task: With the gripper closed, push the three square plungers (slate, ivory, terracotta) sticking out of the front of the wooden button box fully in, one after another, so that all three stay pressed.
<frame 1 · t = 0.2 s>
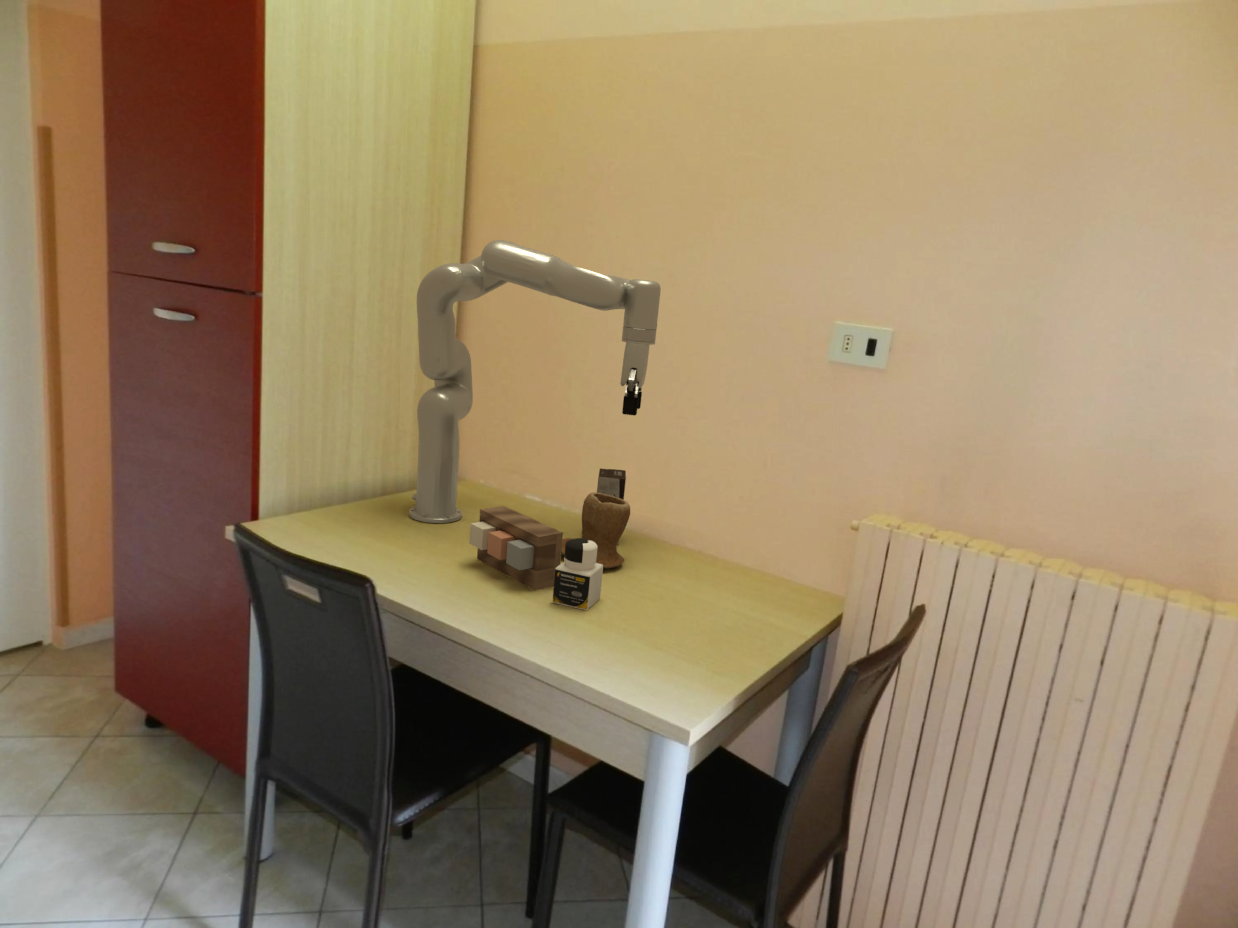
hand: (631, 411, 194), 31 cm above the table, tool pointing down, fingers open, 9 cm apart
terracotta key: (502, 544, 170), point 7 cm above the table, slide at 0.0 cm
wooden button box: (516, 571, 174), on the table
ivory key: (484, 535, 175), point 7 cm above the table, slide at 0.0 cm
medicine bottle: (576, 601, 163), on the table
stone cup: (592, 561, 186), on the table
slate key: (521, 554, 166), point 7 cm above the table, slide at 0.0 cm
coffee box: (606, 539, 202), on the table
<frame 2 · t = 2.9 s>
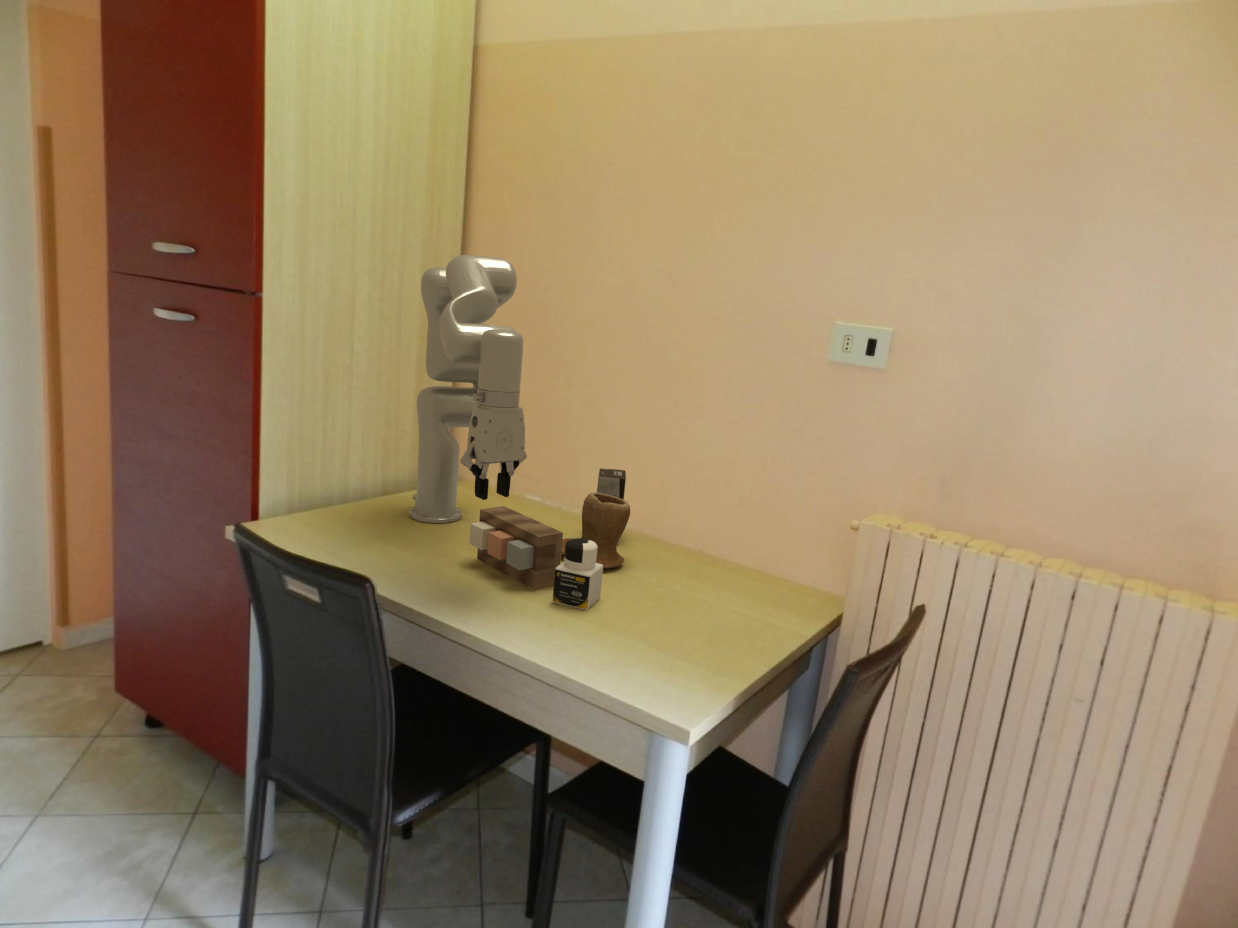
hand: (492, 495, 157), 19 cm above the table, tool pointing down, fingers open, 4 cm apart
nothing on the table moved.
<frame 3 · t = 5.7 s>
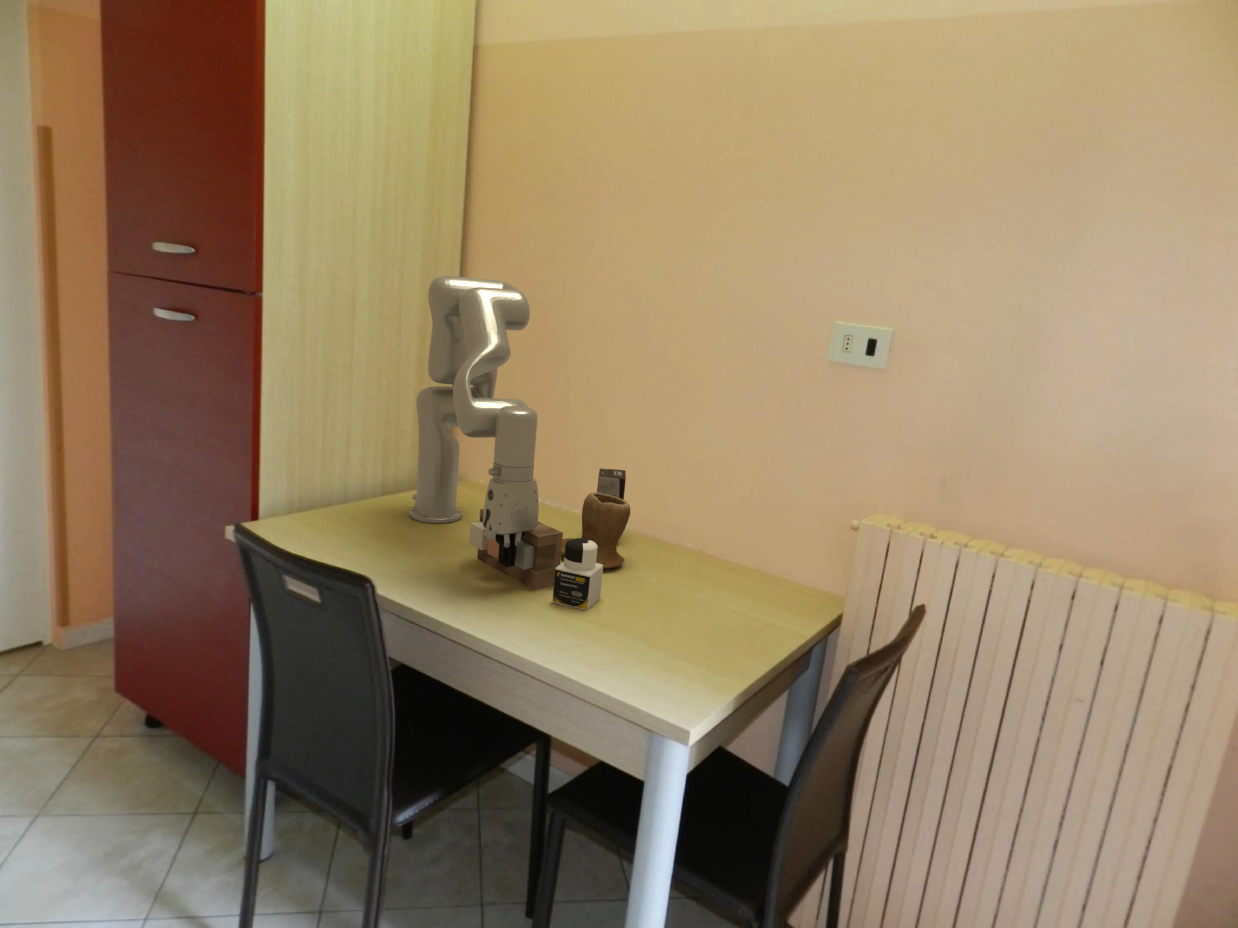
hand: (506, 564, 164), 5 cm above the table, tool pointing down, fingers closed
slate key: (525, 553, 166), point 7 cm above the table, slide at 1.0 cm, touching gripper
everything else where it was.
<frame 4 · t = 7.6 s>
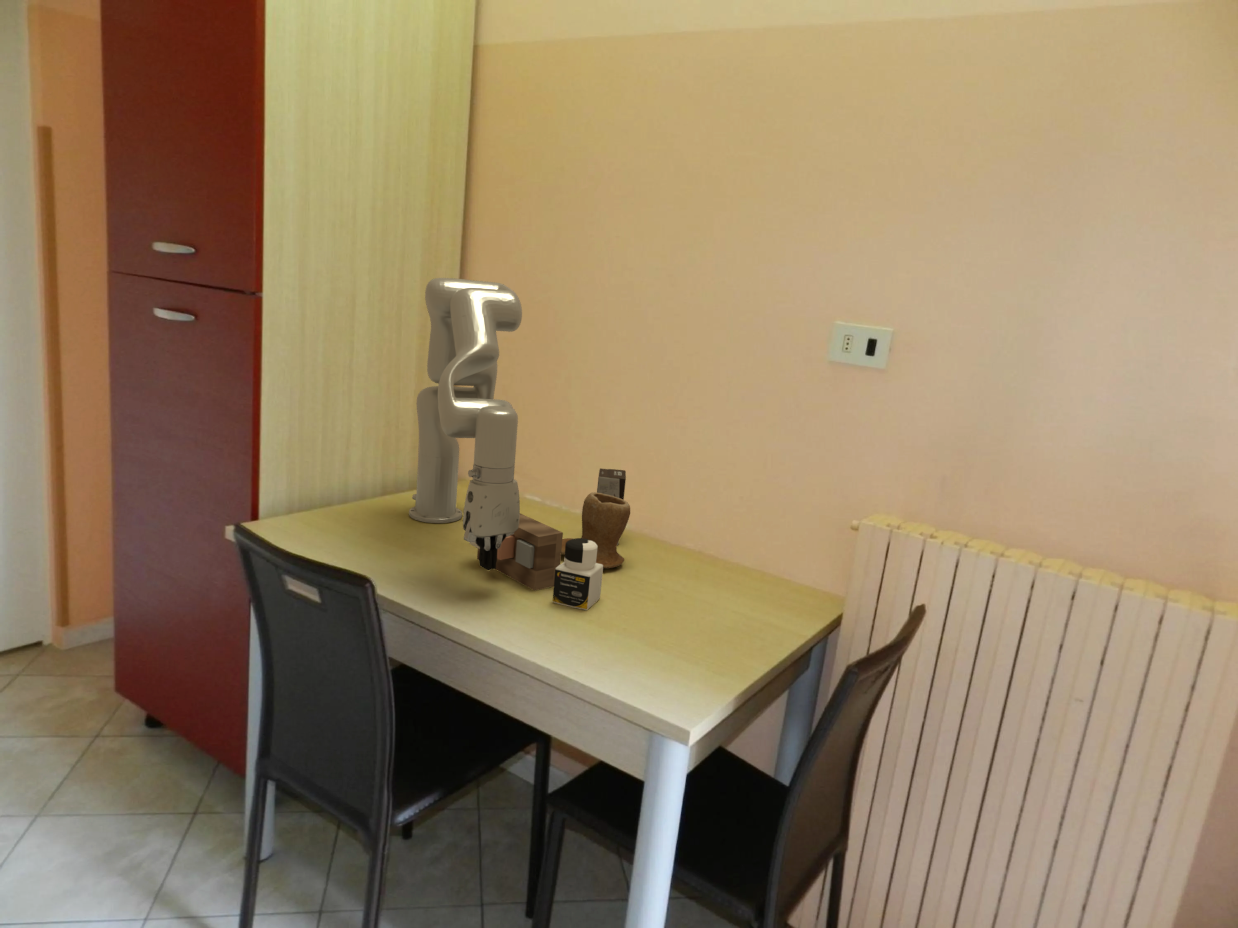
hand: (487, 567, 161), 5 cm above the table, tool pointing down, fingers closed
slate key: (531, 552, 167), point 7 cm above the table, slide at 2.3 cm
everything else where it was.
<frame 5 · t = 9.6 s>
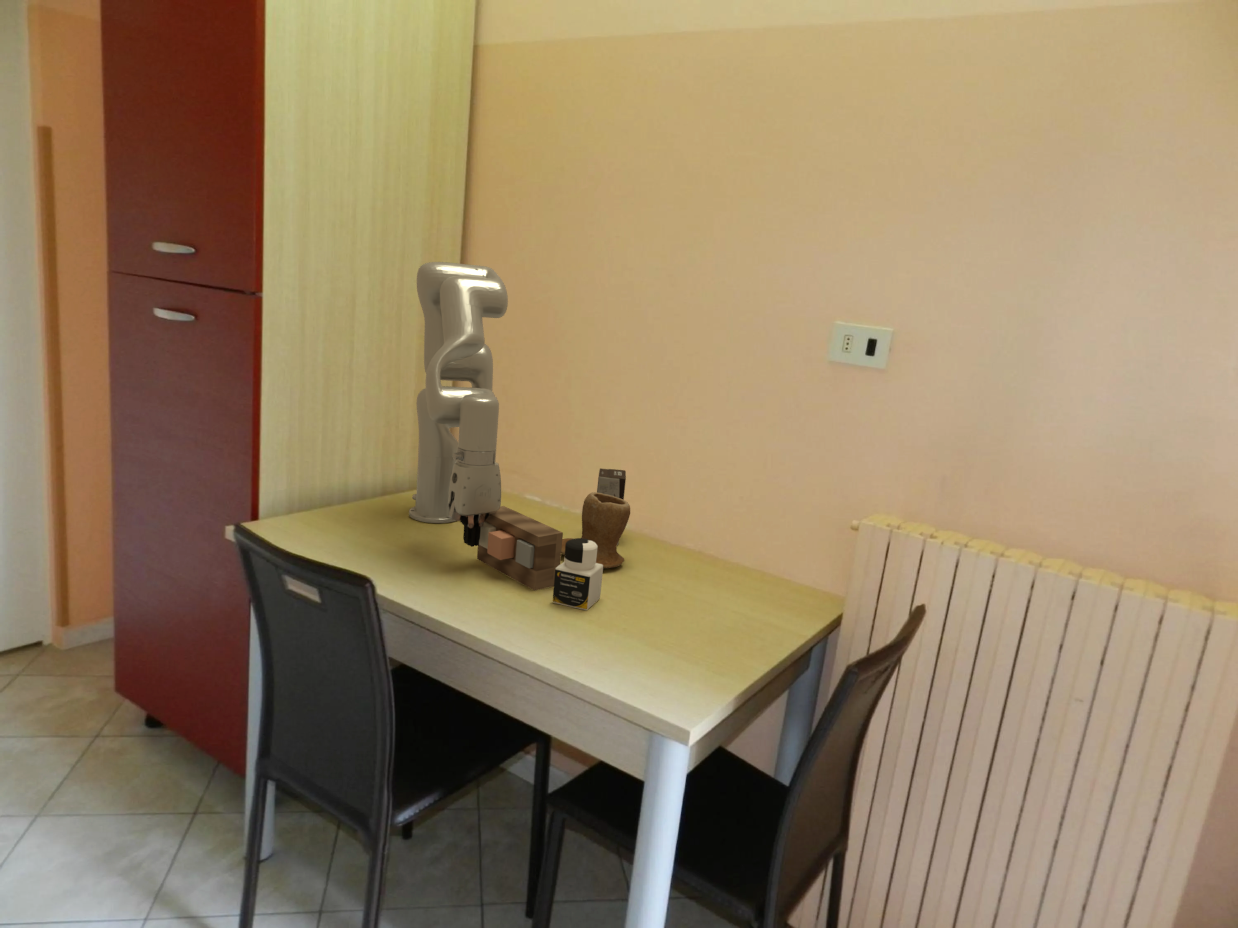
hand: (471, 544, 173), 5 cm above the table, tool pointing down, fingers closed
ivory key: (490, 534, 176), point 7 cm above the table, slide at 1.5 cm, touching gripper
everything else where it was.
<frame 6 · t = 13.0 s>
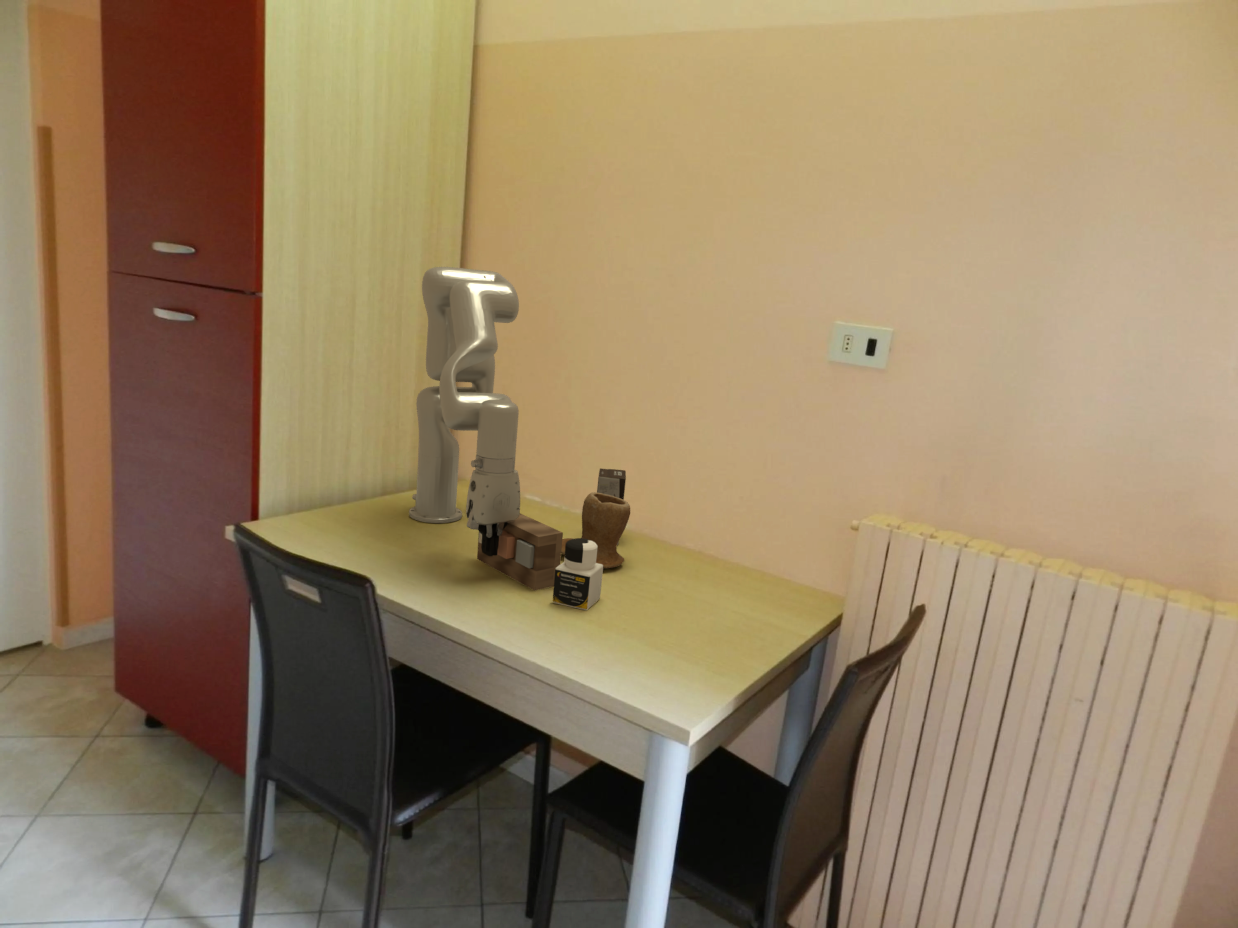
hand: (489, 553, 169), 5 cm above the table, tool pointing down, fingers closed
terracotta key: (508, 543, 171), point 7 cm above the table, slide at 1.4 cm, touching gripper
ivory key: (493, 533, 176), point 7 cm above the table, slide at 2.2 cm
everything else where it was.
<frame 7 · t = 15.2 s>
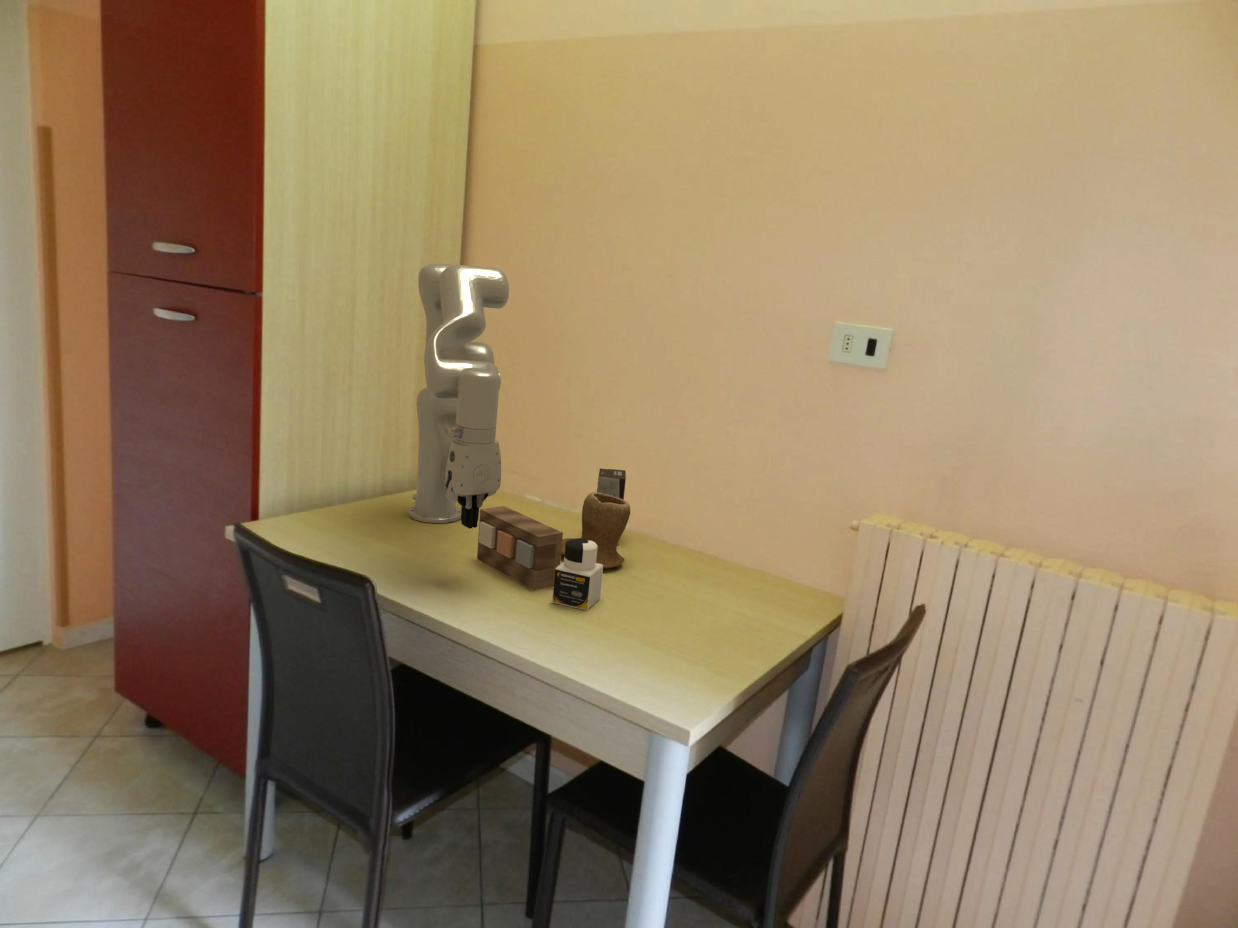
hand: (469, 525, 165), 11 cm above the table, tool pointing down, fingers closed
terracotta key: (511, 542, 172), point 7 cm above the table, slide at 2.2 cm
everything else where it was.
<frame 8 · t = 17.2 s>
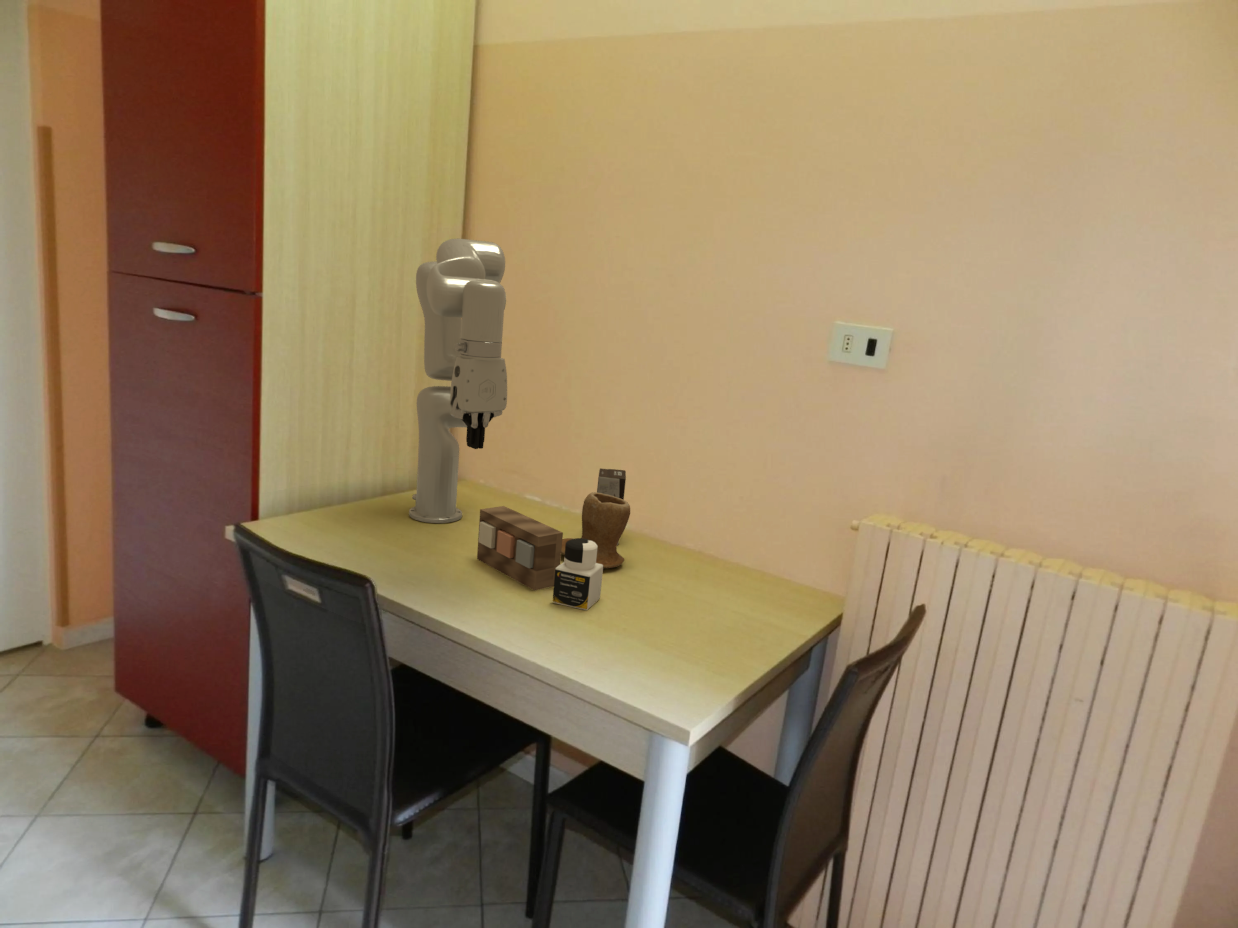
hand: (474, 447, 160), 27 cm above the table, tool pointing down, fingers closed
nothing on the table moved.
at the end: slate key slide at 2.3 cm; ivory key slide at 2.2 cm; terracotta key slide at 2.2 cm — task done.
